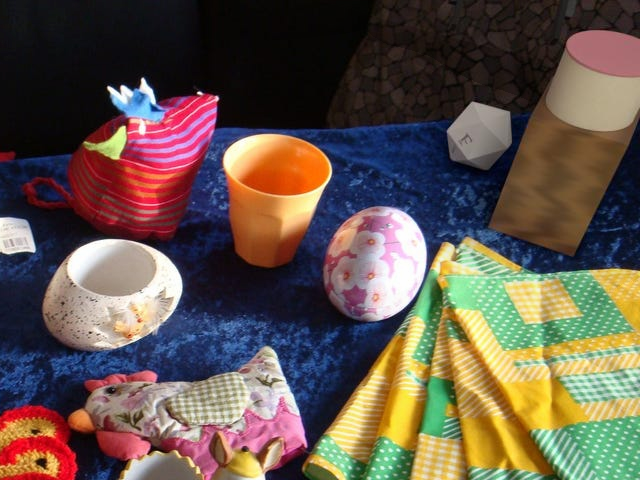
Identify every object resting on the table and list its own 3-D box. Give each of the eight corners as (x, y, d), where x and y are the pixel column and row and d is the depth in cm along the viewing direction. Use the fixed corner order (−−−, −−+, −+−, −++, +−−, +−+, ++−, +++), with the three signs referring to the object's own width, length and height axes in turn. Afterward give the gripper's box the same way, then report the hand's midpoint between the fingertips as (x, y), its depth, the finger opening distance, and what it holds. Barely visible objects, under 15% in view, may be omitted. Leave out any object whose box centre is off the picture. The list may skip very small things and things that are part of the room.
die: (433, 145, 125) (435, 117, 115) (487, 110, 123) (493, 79, 114) (466, 190, 122) (470, 165, 113) (521, 155, 121) (530, 127, 111)
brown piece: (590, 213, 113) (646, 100, 100) (571, 259, 107) (628, 144, 94) (509, 187, 117) (553, 75, 104) (486, 230, 110) (530, 116, 98)
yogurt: (642, 100, 100) (669, 44, 95) (625, 141, 94) (654, 84, 89) (555, 77, 104) (577, 22, 99) (534, 115, 98) (556, 58, 93)
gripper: (625, -96, 116) (588, 57, 118) (442, -117, 121) (409, 31, 122) (646, -125, 109) (606, 38, 111) (451, -146, 113) (415, 12, 115)
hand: (502, 35), depth 116 cm, fingers open, 13 cm apart
